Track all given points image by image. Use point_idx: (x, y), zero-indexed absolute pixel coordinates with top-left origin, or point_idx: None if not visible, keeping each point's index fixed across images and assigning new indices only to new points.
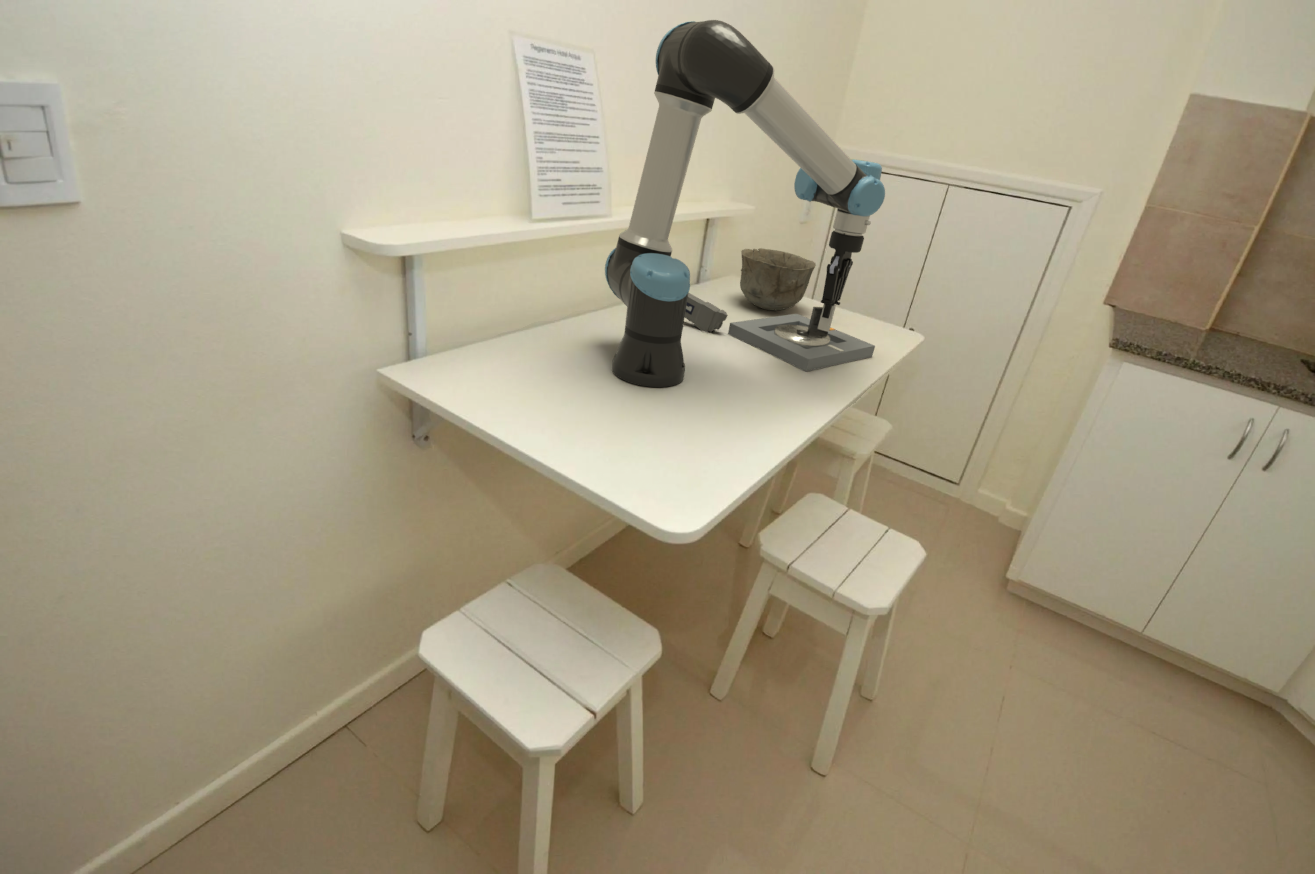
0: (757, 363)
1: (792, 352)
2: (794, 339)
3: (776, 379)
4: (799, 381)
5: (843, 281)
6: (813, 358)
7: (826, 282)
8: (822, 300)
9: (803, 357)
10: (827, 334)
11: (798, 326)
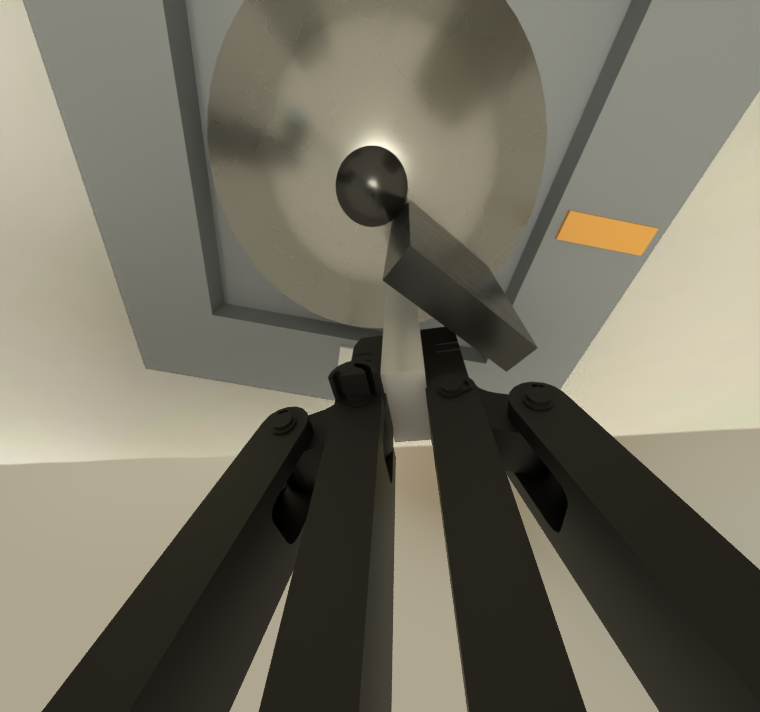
0: (8, 202)
1: (124, 299)
2: (243, 218)
3: (26, 323)
4: (101, 364)
5: (658, 689)
6: (171, 372)
7: (80, 687)
8: (266, 426)
9: (140, 347)
10: (529, 260)
11: (498, 65)
